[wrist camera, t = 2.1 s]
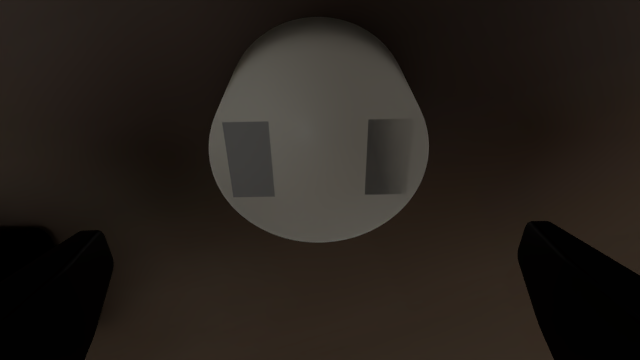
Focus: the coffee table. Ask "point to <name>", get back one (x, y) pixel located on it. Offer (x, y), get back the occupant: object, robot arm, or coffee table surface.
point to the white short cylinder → (318, 133)
